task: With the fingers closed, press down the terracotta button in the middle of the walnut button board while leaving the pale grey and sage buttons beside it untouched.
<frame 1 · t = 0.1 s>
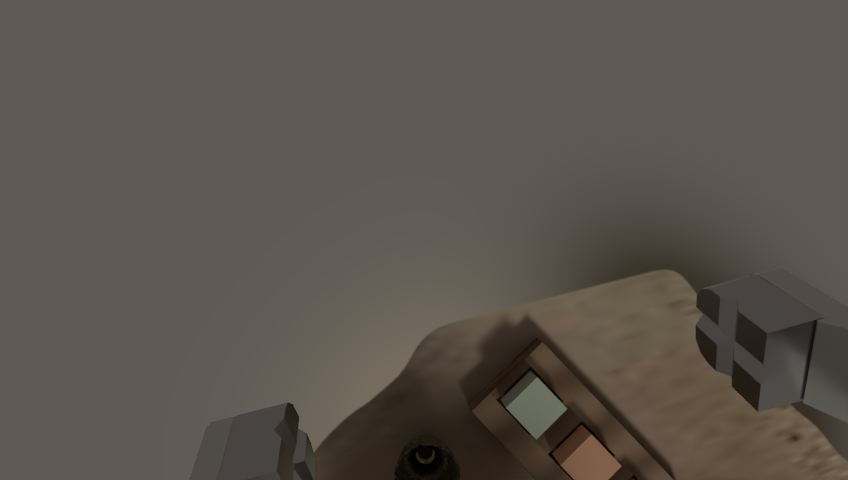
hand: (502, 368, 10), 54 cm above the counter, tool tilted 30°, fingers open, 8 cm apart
sage button: (533, 404, 59), point 4 cm above the counter, slide at 0.0 cm
walnut button board: (573, 445, 64), on the counter
terracotta button: (585, 459, 59), point 4 cm above the counter, slide at 0.0 cm
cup: (425, 451, 63), on the counter
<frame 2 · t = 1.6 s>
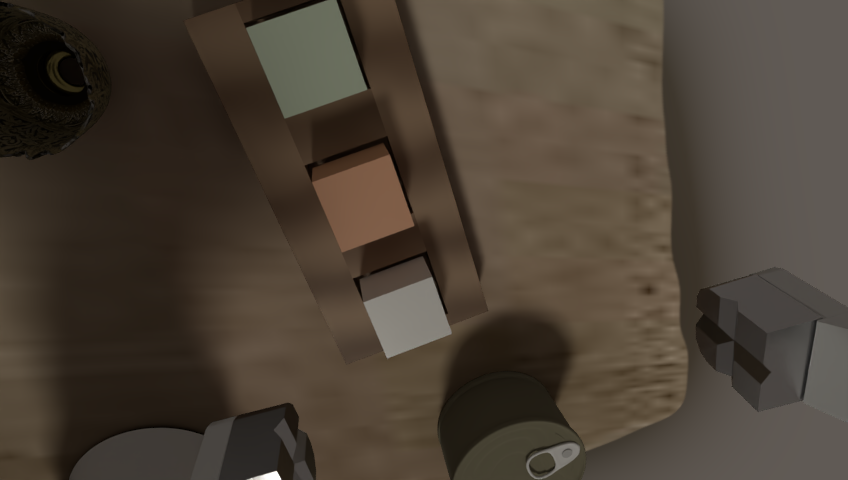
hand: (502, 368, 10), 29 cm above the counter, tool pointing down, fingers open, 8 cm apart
sage button: (309, 58, 29), point 4 cm above the counter, slide at 0.0 cm
walnut button board: (358, 178, 37), on the counter
terracotta button: (362, 196, 33), point 4 cm above the counter, slide at 0.0 cm
grey button: (405, 306, 37), point 4 cm above the counter, slide at 0.0 cm
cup: (76, 71, 31), on the counter
can: (494, 418, 49), on the counter
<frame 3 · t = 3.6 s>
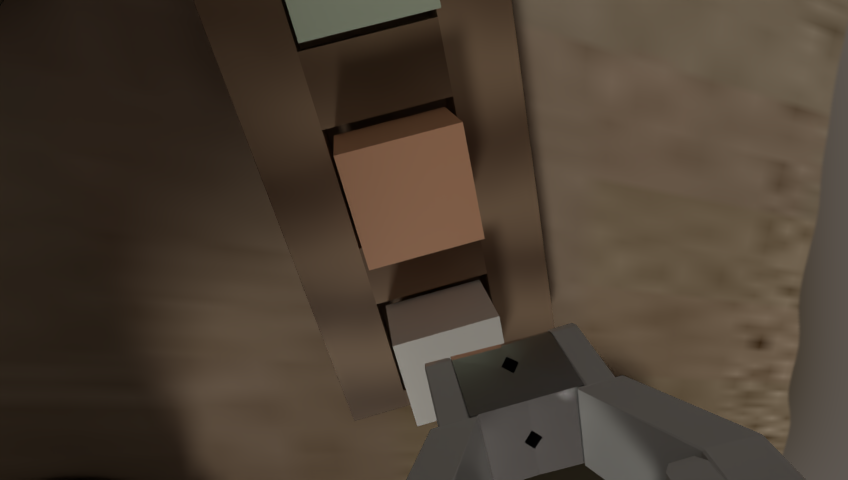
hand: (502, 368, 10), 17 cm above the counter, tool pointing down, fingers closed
walnut button board: (396, 159, 25), on the counter
terracotta button: (407, 186, 21), point 4 cm above the counter, slide at 0.0 cm
grey button: (449, 351, 25), point 4 cm above the counter, slide at 0.0 cm
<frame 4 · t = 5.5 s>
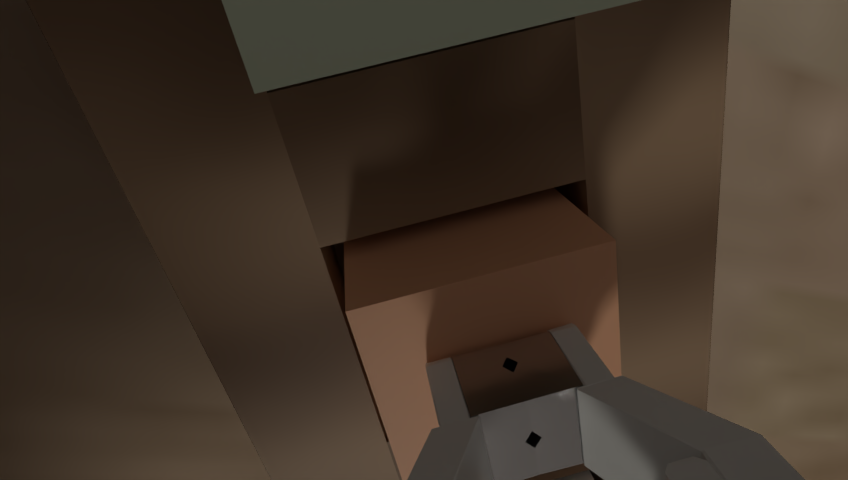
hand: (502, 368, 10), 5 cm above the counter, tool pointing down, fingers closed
walnut button board: (451, 264, 15), on the counter
terracotta button: (479, 330, 12), point 3 cm above the counter, slide at 1.2 cm, touching gripper
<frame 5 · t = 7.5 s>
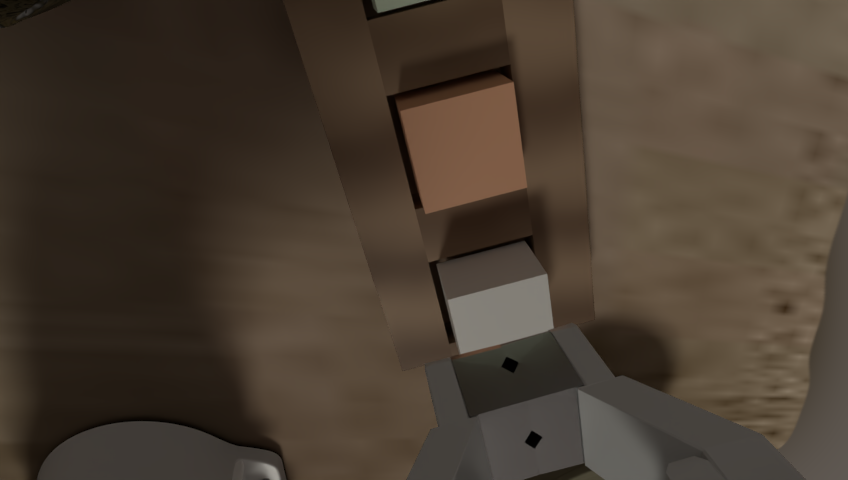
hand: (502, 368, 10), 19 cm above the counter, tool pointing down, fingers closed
walnut button board: (448, 124, 27), on the counter
terracotta button: (459, 140, 24), point 3 cm above the counter, slide at 1.6 cm
grey button: (495, 306, 27), point 4 cm above the counter, slide at 0.0 cm
can: (563, 440, 40), on the counter
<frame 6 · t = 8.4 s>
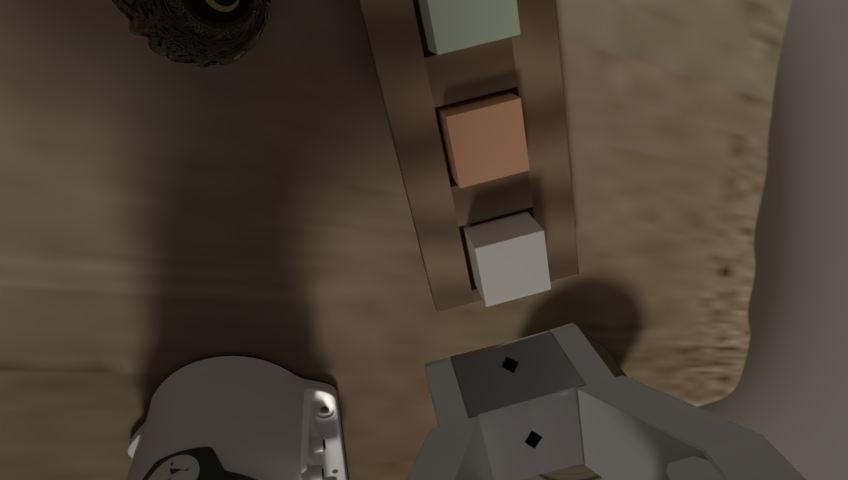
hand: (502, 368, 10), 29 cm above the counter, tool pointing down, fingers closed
walnut button board: (472, 128, 38), on the counter
terracotta button: (482, 138, 35), point 3 cm above the counter, slide at 1.6 cm
grey button: (507, 258, 38), point 4 cm above the counter, slide at 0.0 cm
can: (557, 381, 50), on the counter
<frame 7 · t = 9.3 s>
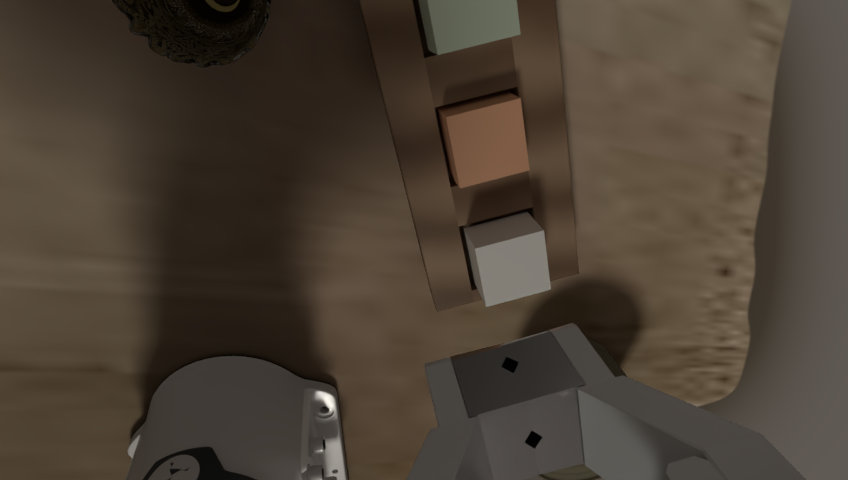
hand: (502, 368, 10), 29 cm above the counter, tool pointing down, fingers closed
walnut button board: (472, 128, 38), on the counter
terracotta button: (482, 138, 35), point 3 cm above the counter, slide at 1.6 cm
grey button: (506, 258, 38), point 4 cm above the counter, slide at 0.0 cm
can: (557, 381, 50), on the counter
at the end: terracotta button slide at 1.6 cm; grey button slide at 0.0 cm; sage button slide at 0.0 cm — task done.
